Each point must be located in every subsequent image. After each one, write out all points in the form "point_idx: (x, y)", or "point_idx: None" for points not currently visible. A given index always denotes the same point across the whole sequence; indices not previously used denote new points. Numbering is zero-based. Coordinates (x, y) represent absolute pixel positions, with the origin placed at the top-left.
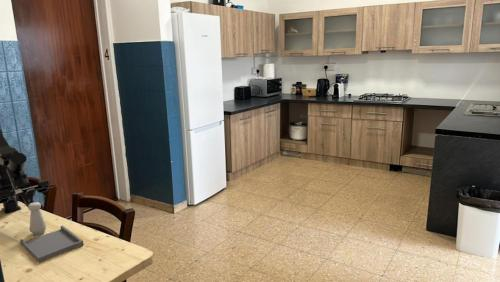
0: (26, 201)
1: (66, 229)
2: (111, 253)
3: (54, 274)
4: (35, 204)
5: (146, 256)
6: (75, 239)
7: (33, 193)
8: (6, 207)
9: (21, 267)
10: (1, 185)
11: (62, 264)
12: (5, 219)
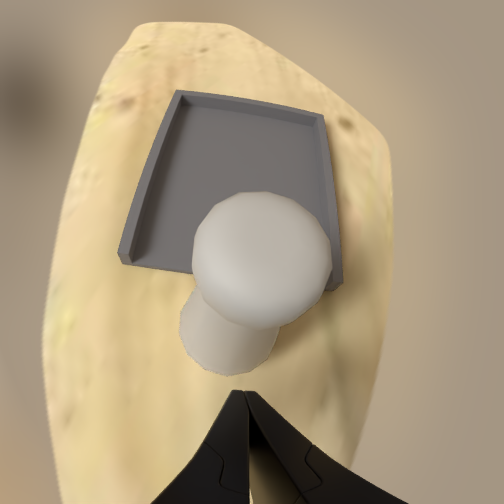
0: (301, 438)
1: (139, 194)
2: (170, 50)
3: (304, 77)
4: (271, 197)
5: (147, 23)
6: (171, 127)
7: (155, 498)
8: None
9: (360, 146)
10: None
11: (274, 84)
12: None
